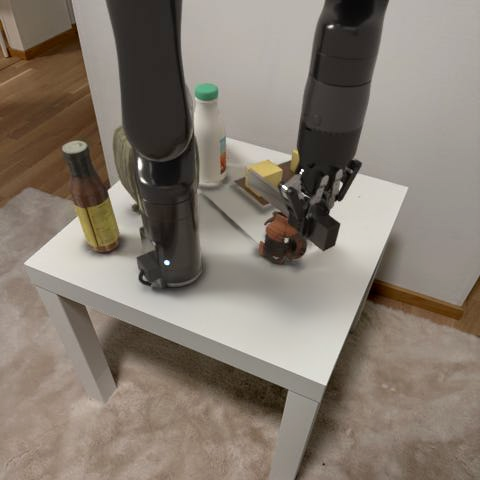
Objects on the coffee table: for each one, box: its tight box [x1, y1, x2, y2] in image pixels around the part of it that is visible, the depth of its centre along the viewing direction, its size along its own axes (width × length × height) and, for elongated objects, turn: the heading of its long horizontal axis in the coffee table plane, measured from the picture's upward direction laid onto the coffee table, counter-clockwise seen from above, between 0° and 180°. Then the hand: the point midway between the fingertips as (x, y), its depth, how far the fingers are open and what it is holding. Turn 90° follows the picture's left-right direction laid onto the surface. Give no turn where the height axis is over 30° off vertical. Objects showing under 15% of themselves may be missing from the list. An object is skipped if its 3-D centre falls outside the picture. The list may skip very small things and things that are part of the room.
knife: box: [247, 168, 341, 252], centre depth 67 cm, size 2×20×4 cm, turn 36°
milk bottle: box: [193, 82, 227, 184], centre depth 93 cm, size 8×8×20 cm
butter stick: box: [245, 159, 283, 197], centre depth 95 cm, size 6×5×4 cm
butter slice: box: [290, 148, 299, 172], centre depth 99 cm, size 2×5×4 cm, turn 35°
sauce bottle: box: [61, 140, 121, 253], centre depth 78 cm, size 7×6×20 cm
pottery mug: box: [258, 210, 308, 264], centre depth 83 cm, size 12×10×8 cm
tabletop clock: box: [112, 124, 200, 212], centre depth 83 cm, size 14×9×25 cm, turn 123°
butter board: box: [233, 159, 295, 207], centre depth 99 cm, size 17×11×2 cm, turn 125°
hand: (310, 230), depth 66 cm, fingers closed on knife, 2 cm apart
